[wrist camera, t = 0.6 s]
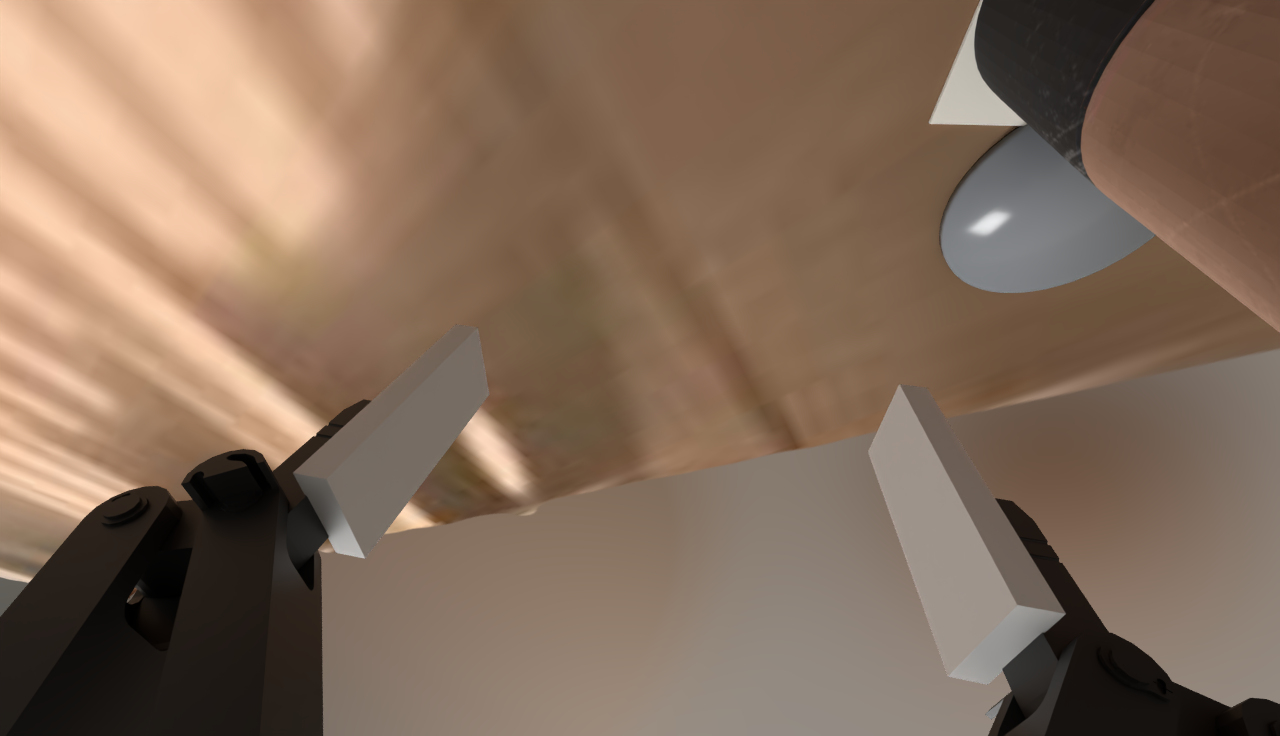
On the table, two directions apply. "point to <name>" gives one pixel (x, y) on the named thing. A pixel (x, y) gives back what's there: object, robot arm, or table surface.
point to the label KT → (970, 92)
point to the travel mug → (1159, 117)
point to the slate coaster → (1032, 220)
